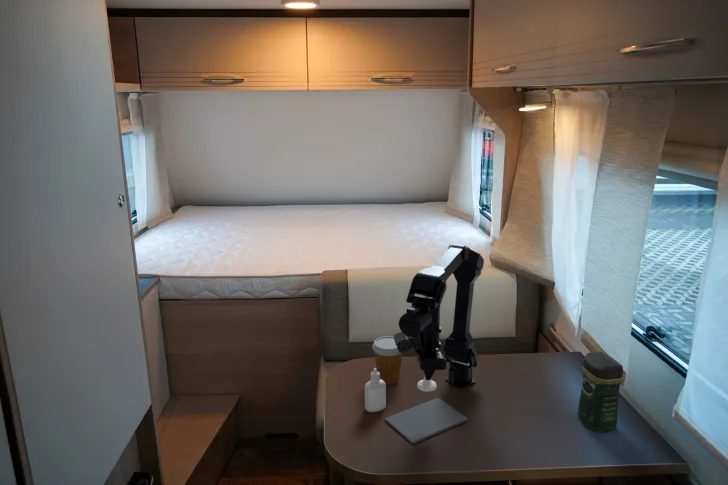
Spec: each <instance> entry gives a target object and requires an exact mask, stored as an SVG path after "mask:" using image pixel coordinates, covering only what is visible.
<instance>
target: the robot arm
mask: <svg viewBox="0 0 728 485" xmlns="http://www.w3.org/2000/svg"><path fill="white" fill-rule="evenodd" d="M484 264H485V258H484V256H482V255H481V253H479V252H476V251H475V250H473V249H471V248H470V247H469V246H467V245H464V244H457V243H456V244H455V243H452V244H449V245H448V248H447V250H446V251H445V252H444V253H443V254H442V256H440V258H438V259H437V261H436V262H435V263H434V264H433V265H431V266H430V267H425V268H422V269H421V270H419V271H418V272H416V274H415V275H414V276H413V278H412V281H411V284H410V287H409V291H408V294H407V297H406V303H408V304H411V305H410V306H408V307H407V308H406V312H405V313H404V314H402V315H401V316H400V318H399V320H398V328H399V329H400V331H399V332H397V333H395V334H394V335H393V337H394V341H395V344H396V346H397V349H398V351H399V353H406V352H408V351H411V350H413V349H414V352H415V353H416V354H418V356H416V359H417V362H418V364H419V365H418V366H419V370H421V371H423V375H424V376H425V379H426V380H430V379H431V380H432V377H433V376H434V373H436V371H441V370H442V371H443V370H446V369H447V363H449V368H448V376H446V377H445V380H446V382H448V383H451V385H453V386H455V387H456V388H458V389H463V388H466V387H467V386H470V385H473V384H475V383H476V380H475V378H473V368H477V367H478V362H479V354H478V352H477V350H475V340H474V338H473V336H472V334H471V333H470V329H471V318H472V308H473V297H474V287H475V283H476V281H477V280H478V279H479V277H480V276H481V274H482V270H483V269H484ZM452 275H453V277H454V279H455V280H456V291H455V292H456V293H455V304H454V314H453V324H452V331H451V333H450V334H449V335H448V337H446V338H445V341H444V342H445V343H444V346H443V350H442V351H443V352H441V351H440V349H441V348H442V343H441V341H440V338H441V337H440V336H441V335H440V334H441V333H442V327H441V304H442V302H443V299H444V297H445V293H446V291H447V281H448V279H449V278H450V277H451V276H452Z"/></svg>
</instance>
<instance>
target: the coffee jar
mask: <svg viewBox="0 0 728 485" xmlns="http://www.w3.org/2000/svg"><path fill="white" fill-rule="evenodd" d="M581 365H582V368H581V369H582V381H581V389H580V396H579V400H578V401H579V402H578V406H577V414H576V415H577V417H578V418H579V420H580V421H581V423H583V425H585V426H586V427H587V428H589V429H590V430H591V431H594V432H600V433H609V432H612V431H614V430H616V428H617V426H618V425H617V424H618V416H619V415H618V414H619V413H618V410H619V398H620V396H619V395H620V387H621V382H622V381H623V378H624V366H623V365H622V363H620V362H618V360H616V359H614V358H613V357H611V356H609V355H608V354H606V353H604V352H603V351H592V352H587V353H586V355H584V358H583V360H582V364H581Z"/></svg>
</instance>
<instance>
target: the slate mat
mask: <svg viewBox="0 0 728 485" xmlns="http://www.w3.org/2000/svg"><path fill="white" fill-rule="evenodd" d="M384 421H385V422H386V423H388V424H389V425H390V426H391V427H392V428H394V430H395V431H397V432H398V433H399V434H400V435H401V436H402V437H404V438H405V439H406V440H407V441H408V442H409V443H411V444H412V445H414V444H418V443H419V442H422V441H424V440H425V439H427V438H430V437H432V436H435V435H437V434H441V433H442V432H444V431H447V430H449V429H451V428H454V427H456V426H458V425H460V424H463V423H465V422H467V421H468V417H467V416H465V415H463V414H462V413H460V412H459V411H458V410H457V409H455V408H454V407H452V406H451V405H449V404H448V403H447V402H444V401H443V399H441V398H439V397H436V398H434V399H430V400H428V401H426V402H423V403H421V404H418V405H415V406H413V407H411V408H409V409H408V408H407V409H405V410H403V411H401V412H397V413H395V414H392V415H390V416H388V417H385V418H384Z"/></svg>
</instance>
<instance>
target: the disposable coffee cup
mask: <svg viewBox="0 0 728 485" xmlns="http://www.w3.org/2000/svg"><path fill="white" fill-rule="evenodd" d="M371 348H372V351H373V352H374V353H373V354H374V359H375V366H376V367H375V368H376V369H377V372H379V373H380V379H381V380H383V381H384V382H385V384H386V385H393V384H396V383H397V382H399V380H400V373H401V368H402V367H401V366H402V361H403V360H402V359H403V353H404V352H403V353H399V351H398V349H397V346H396V344H395V341H394V335H393V336H392V335H385V336H380V337H377V338H376V339H375V340H373V344H372V347H371Z"/></svg>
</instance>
